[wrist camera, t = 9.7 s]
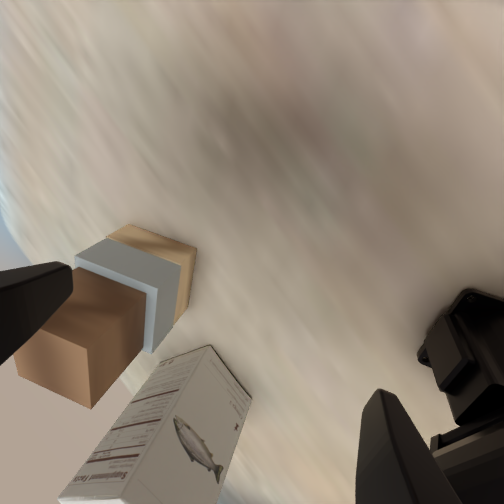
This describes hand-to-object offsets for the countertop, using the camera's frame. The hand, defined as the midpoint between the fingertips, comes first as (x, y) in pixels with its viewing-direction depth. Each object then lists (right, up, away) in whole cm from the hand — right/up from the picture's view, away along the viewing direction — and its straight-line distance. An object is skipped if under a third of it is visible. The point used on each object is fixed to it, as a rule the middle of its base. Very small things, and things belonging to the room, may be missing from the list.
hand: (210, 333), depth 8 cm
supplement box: (-3, -10, +22) cm, 24 cm away
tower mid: (-7, 0, +15) cm, 16 cm away
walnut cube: (-8, -2, +12) cm, 15 cm away
